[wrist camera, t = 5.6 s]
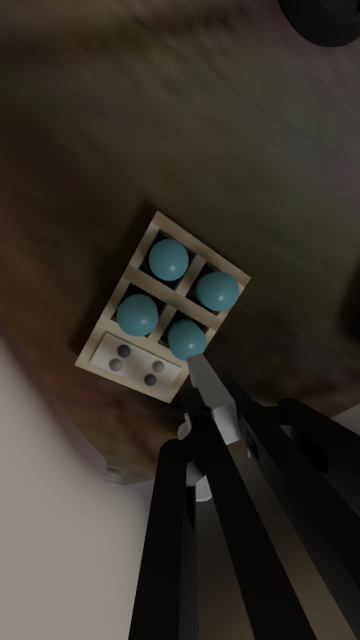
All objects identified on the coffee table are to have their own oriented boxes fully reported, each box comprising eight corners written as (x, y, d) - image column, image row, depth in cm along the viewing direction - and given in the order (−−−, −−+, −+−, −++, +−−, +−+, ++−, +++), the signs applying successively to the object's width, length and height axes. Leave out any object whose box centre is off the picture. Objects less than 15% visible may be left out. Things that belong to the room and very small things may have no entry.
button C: (131, 286, 22) (128, 289, 19) (163, 305, 23) (165, 309, 20) (114, 318, 22) (109, 324, 19) (146, 334, 23) (145, 342, 20)
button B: (207, 265, 22) (215, 264, 19) (234, 283, 23) (246, 285, 21) (188, 296, 23) (194, 299, 20) (216, 312, 24) (225, 318, 21)
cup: (173, 451, 31) (180, 510, 24) (162, 405, 29) (166, 453, 21) (211, 440, 32) (231, 493, 25) (204, 394, 29) (223, 436, 22)
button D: (178, 313, 23) (182, 319, 20) (205, 329, 24) (213, 336, 22) (161, 341, 24) (162, 351, 21) (188, 355, 25) (193, 366, 22)
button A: (160, 236, 22) (161, 230, 19) (190, 256, 23) (195, 254, 20) (142, 268, 23) (141, 267, 20) (172, 286, 24) (175, 288, 21)
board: (156, 215, 22) (157, 209, 19) (243, 277, 26) (253, 277, 23) (80, 357, 25) (72, 367, 22) (168, 394, 28) (170, 406, 26)
